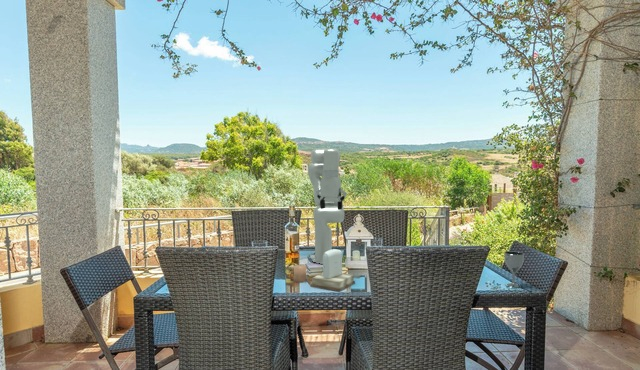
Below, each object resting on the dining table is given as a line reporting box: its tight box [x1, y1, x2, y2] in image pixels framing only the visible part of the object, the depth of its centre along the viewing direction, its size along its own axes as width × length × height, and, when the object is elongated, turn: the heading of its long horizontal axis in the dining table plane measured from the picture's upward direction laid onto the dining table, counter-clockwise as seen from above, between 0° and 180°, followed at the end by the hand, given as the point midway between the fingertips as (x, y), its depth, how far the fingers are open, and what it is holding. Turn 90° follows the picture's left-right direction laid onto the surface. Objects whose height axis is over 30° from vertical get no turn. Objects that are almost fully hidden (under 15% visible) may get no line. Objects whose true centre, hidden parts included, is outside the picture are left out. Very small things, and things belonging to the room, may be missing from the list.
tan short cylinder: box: [293, 264, 307, 283], centre depth 201 cm, size 6×6×7 cm
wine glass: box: [504, 250, 525, 288], centre depth 191 cm, size 8×8×15 cm
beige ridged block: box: [310, 272, 356, 293], centre depth 194 cm, size 15×15×4 cm
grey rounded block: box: [322, 248, 343, 279], centre depth 194 cm, size 10×4×12 cm, turn 135°
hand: (331, 208), depth 209 cm, fingers open, 9 cm apart
